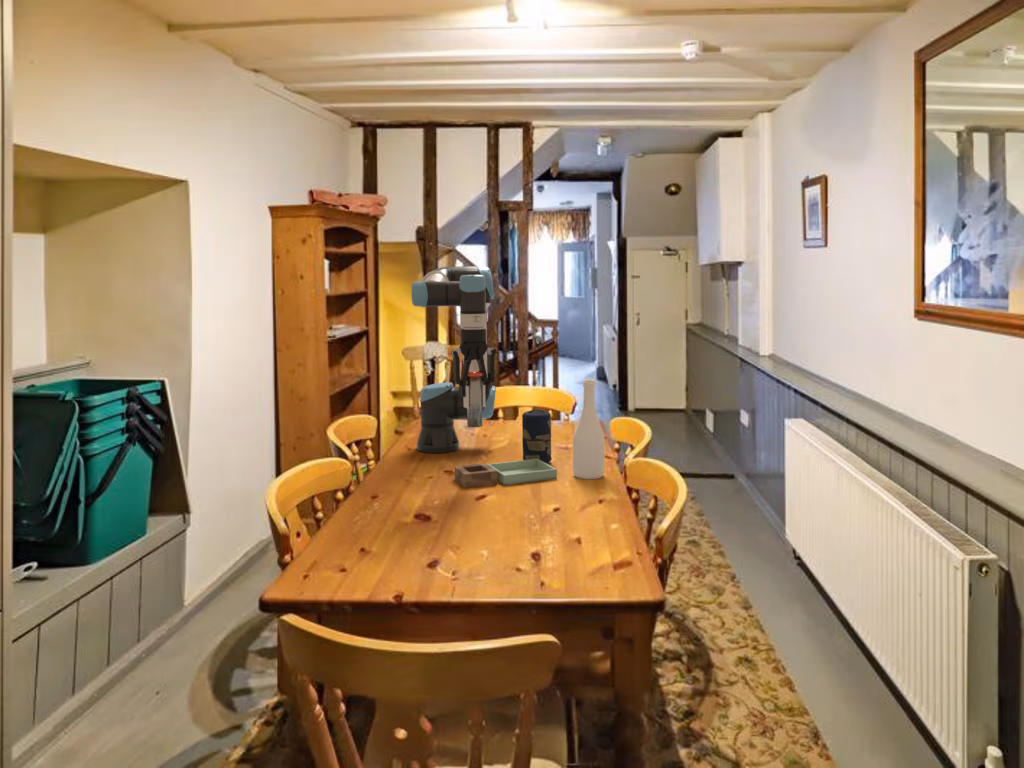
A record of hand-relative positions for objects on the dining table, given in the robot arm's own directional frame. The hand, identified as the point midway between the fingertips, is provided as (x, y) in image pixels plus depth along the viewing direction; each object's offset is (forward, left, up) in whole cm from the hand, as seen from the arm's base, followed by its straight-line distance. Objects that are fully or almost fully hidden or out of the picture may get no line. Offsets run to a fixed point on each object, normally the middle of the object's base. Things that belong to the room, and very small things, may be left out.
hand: (474, 406), depth 221 cm
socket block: (0, 0, -23) cm, 23 cm away
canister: (-13, +26, -23) cm, 37 cm away
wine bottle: (+8, +34, -23) cm, 42 cm away
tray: (0, +15, -23) cm, 27 cm away
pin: (0, 0, -6) cm, 6 cm away
